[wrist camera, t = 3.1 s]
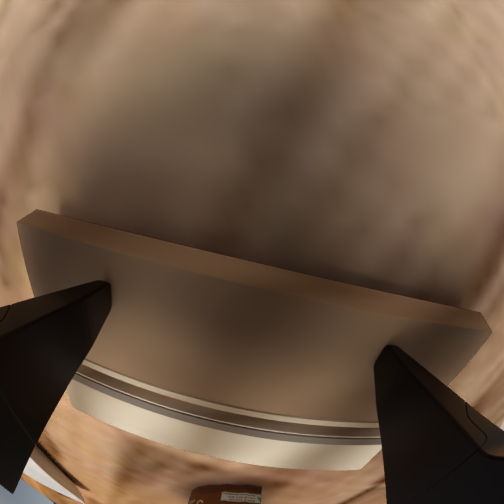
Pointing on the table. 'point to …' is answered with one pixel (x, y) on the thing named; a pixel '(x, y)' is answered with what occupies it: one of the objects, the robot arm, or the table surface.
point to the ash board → (220, 428)
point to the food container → (226, 494)
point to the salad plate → (50, 475)
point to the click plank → (242, 325)
